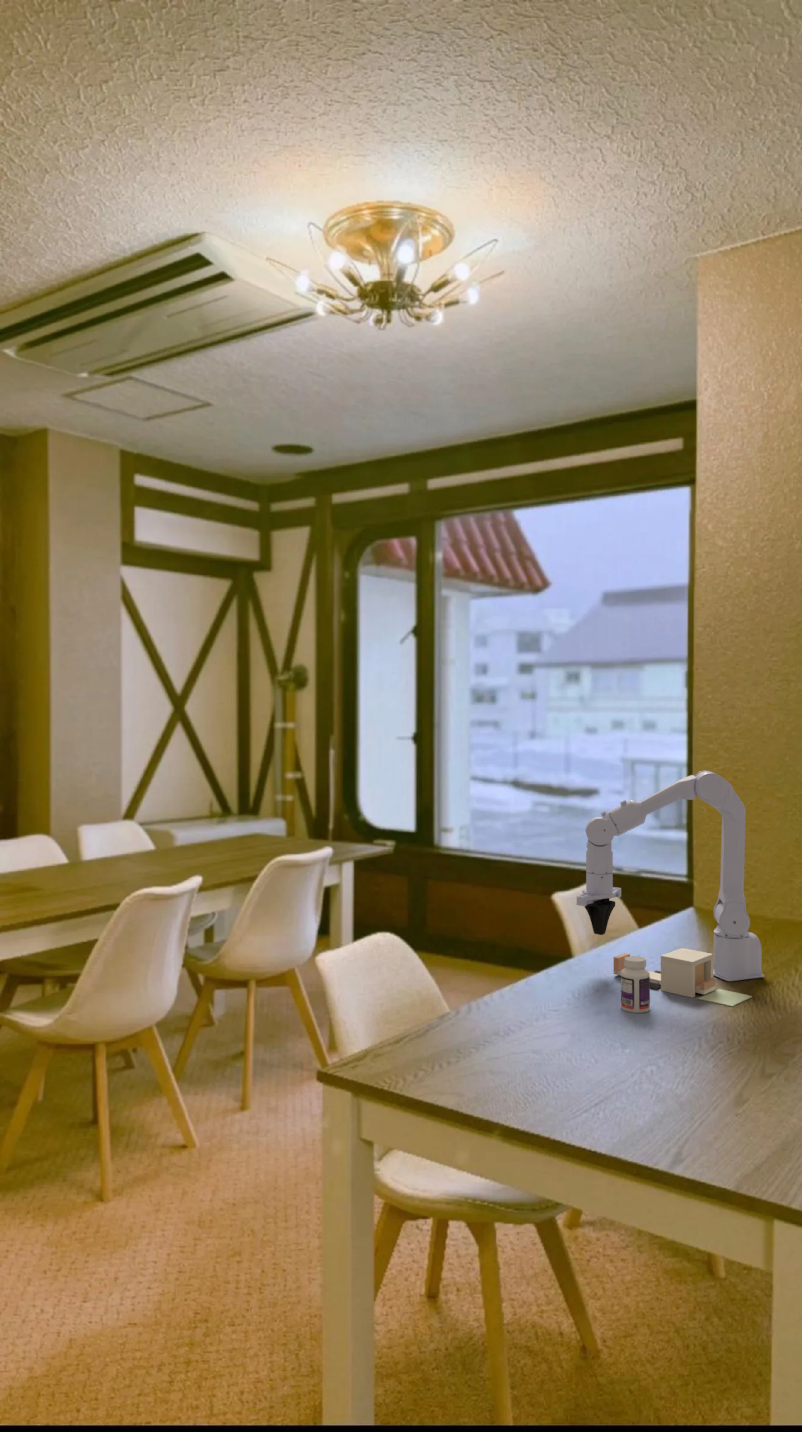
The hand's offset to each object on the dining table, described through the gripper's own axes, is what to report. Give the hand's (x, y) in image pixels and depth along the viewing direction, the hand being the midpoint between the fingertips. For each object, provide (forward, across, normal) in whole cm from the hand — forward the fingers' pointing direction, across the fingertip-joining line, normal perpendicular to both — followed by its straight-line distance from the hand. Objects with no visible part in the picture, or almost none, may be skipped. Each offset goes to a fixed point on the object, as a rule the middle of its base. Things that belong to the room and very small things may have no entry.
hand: (599, 933), depth 210 cm
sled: (+7, 0, +16) cm, 17 cm away
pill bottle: (+8, +18, +20) cm, 28 cm away
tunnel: (+8, 0, +21) cm, 22 cm away
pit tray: (+8, 0, +14) cm, 16 cm away
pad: (+8, 0, +29) cm, 30 cm away
